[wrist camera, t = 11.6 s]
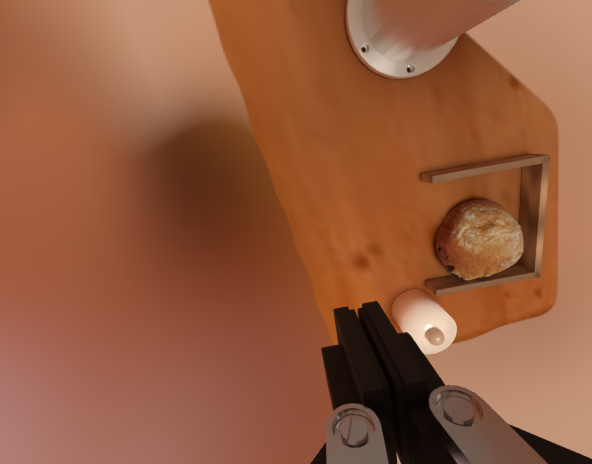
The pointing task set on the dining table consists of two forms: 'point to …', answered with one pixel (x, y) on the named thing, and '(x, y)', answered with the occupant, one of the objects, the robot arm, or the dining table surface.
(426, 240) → the dining table surface
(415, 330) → the pot
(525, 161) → the open rail frame
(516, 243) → the bread roll
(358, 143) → the dining table surface
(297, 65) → the dining table surface
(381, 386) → the robot arm
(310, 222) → the dining table surface
